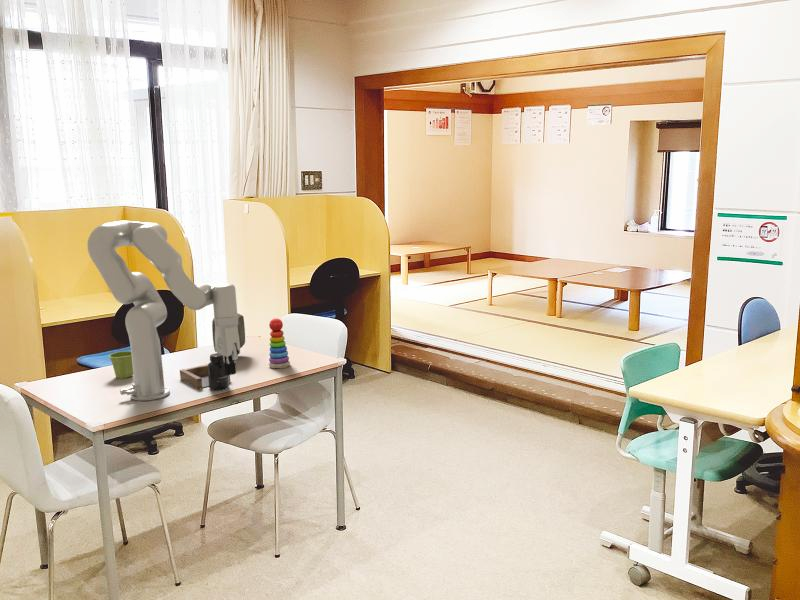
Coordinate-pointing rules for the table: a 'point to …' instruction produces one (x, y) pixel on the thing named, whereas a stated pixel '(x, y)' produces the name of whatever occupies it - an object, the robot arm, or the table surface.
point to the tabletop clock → (240, 330)
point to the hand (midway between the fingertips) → (230, 374)
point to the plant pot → (122, 364)
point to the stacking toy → (277, 346)
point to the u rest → (196, 376)
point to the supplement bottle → (217, 373)
